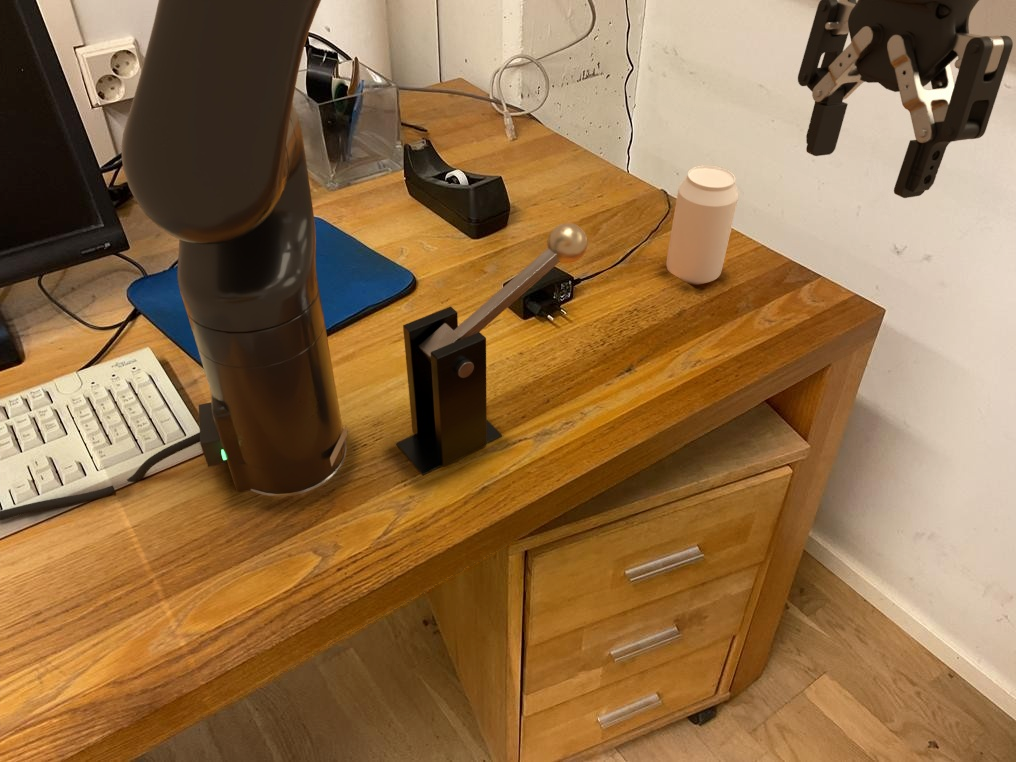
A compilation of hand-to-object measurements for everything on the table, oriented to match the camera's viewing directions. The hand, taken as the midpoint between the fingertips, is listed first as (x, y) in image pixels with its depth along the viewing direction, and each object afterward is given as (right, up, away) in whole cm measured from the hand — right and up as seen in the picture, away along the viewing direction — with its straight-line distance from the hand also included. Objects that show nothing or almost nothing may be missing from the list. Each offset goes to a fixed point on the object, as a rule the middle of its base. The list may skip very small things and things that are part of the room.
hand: (861, 173), depth 57 cm
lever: (-25, -9, +8) cm, 27 cm away
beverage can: (-4, -3, +34) cm, 34 cm away
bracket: (-30, -21, +13) cm, 39 cm away
